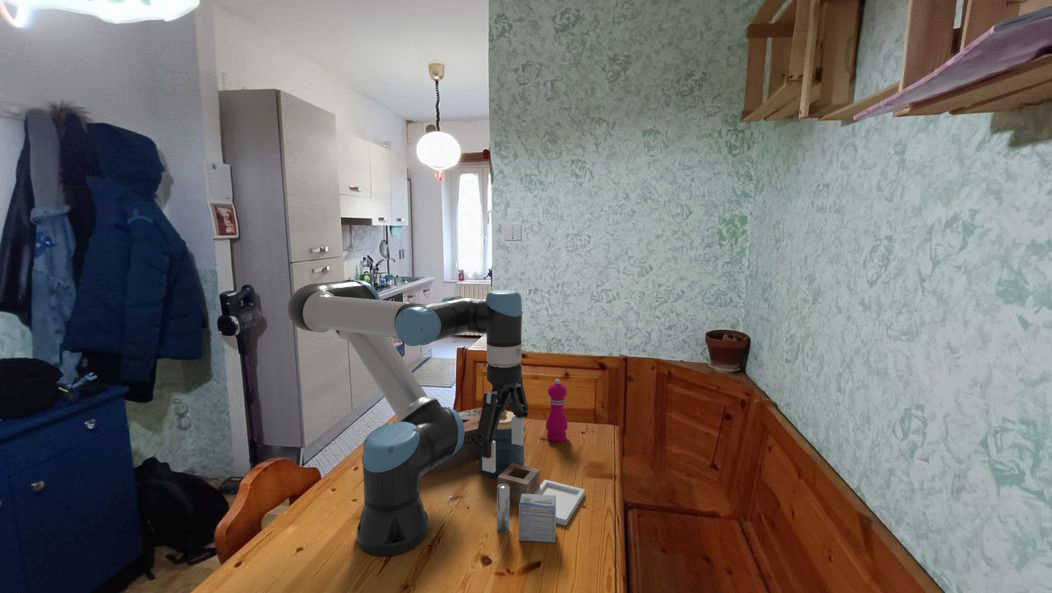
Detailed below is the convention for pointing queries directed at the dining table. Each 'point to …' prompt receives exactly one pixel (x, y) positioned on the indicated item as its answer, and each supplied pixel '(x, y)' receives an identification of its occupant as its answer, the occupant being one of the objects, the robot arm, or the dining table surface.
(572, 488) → the tray
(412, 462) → the robot arm
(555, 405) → the pepper mill
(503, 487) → the pin
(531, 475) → the square hollow frame
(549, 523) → the medicine box
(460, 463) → the tissue box cover
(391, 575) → the dining table surface
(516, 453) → the canister
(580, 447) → the dining table surface
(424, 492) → the dining table surface
